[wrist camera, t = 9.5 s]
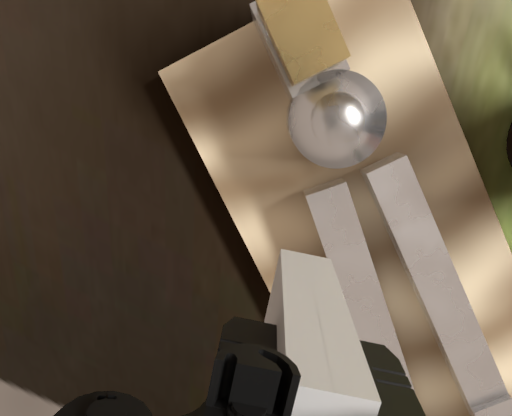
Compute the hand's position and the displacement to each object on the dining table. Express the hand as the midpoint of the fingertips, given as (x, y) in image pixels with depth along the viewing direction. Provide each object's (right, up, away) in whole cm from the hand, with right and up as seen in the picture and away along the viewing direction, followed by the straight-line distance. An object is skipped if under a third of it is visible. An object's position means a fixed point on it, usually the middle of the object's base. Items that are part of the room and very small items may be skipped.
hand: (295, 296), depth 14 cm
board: (+6, +1, +17) cm, 19 cm away
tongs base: (+7, +1, +16) cm, 17 cm away
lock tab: (+1, +11, +9) cm, 14 cm away
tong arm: (+6, -5, +16) cm, 18 cm away
